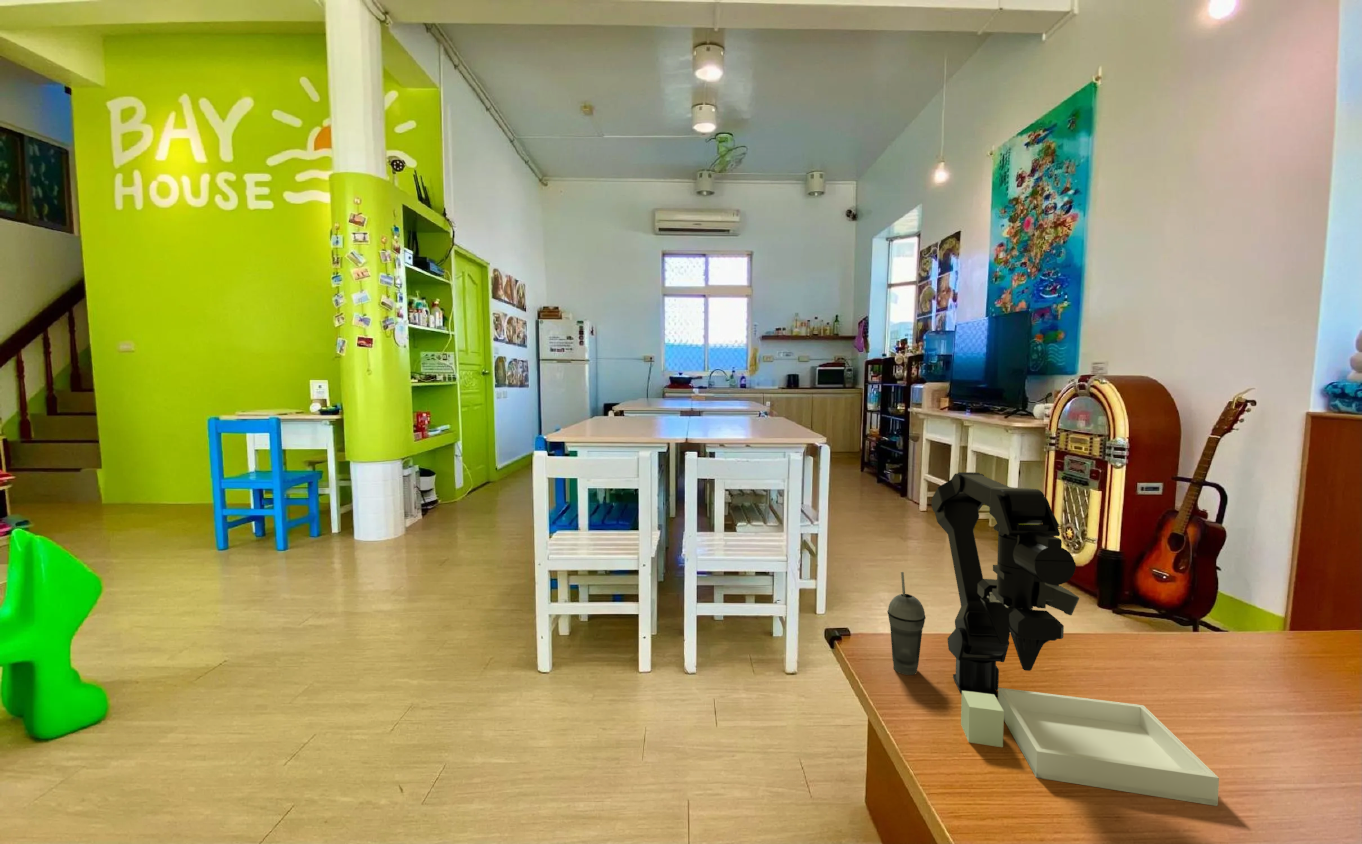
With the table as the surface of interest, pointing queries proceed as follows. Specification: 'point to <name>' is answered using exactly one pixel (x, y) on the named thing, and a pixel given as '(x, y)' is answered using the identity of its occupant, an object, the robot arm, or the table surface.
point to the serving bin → (1105, 746)
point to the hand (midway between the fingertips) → (1014, 656)
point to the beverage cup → (906, 631)
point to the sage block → (982, 718)
